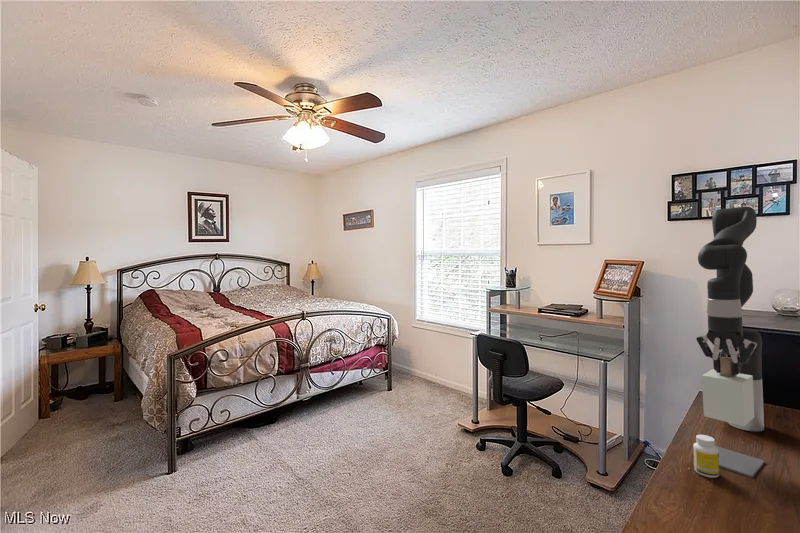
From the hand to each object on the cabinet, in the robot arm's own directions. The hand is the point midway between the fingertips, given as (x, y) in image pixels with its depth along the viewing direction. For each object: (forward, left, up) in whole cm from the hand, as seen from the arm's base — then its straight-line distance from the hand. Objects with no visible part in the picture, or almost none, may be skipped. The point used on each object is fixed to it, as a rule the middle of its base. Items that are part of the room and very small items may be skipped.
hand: (726, 373), depth 107 cm
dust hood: (0, 0, -13) cm, 13 cm away
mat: (0, 0, -26) cm, 26 cm away
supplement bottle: (+12, -2, -26) cm, 29 cm away
